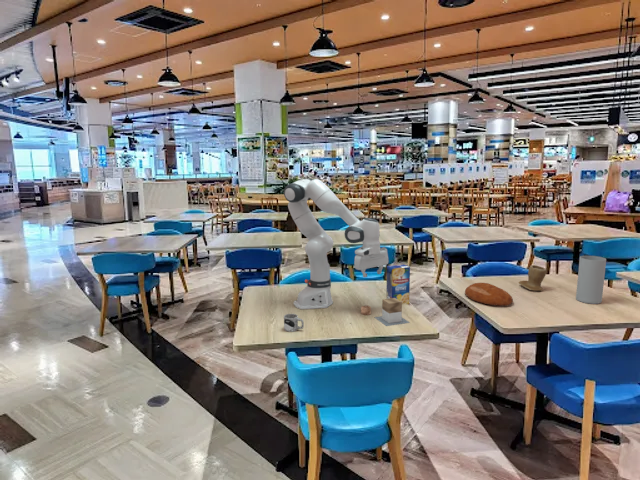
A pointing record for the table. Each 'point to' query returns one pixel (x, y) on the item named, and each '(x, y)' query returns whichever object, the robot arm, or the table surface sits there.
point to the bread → (488, 294)
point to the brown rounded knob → (365, 310)
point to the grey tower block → (391, 316)
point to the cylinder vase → (590, 279)
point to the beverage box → (398, 283)
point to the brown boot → (534, 278)
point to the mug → (292, 322)
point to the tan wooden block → (392, 305)
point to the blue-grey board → (391, 323)
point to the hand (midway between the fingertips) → (372, 275)
